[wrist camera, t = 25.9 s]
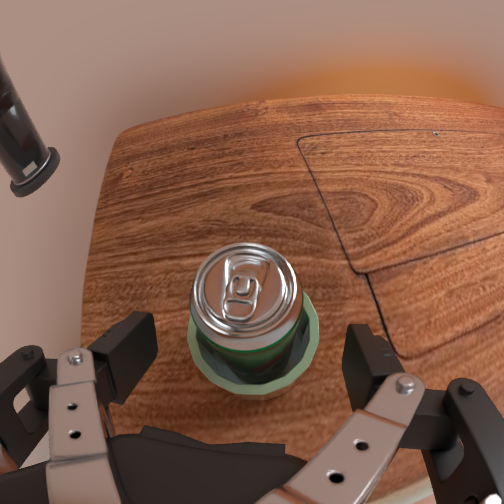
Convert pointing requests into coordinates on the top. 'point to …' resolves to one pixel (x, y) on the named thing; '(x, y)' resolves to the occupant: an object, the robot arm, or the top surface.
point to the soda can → (248, 308)
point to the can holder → (268, 389)
